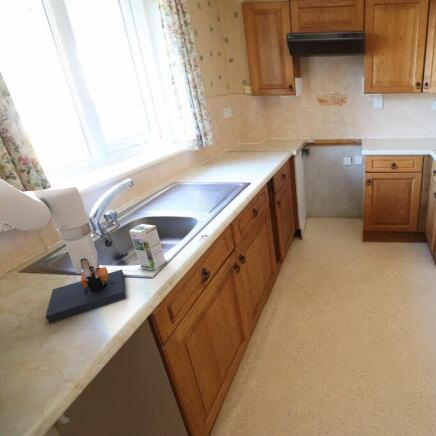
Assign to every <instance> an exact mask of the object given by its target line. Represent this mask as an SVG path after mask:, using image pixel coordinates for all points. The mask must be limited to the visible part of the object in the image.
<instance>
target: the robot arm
mask: <svg viewBox="0 0 436 436" xmlns="http://www.w3.org/2000/svg"><path fill="white" fill-rule="evenodd" d="M50 221H52V223H53V225H54V228H55V230H56V232H57V236H58V237H59V240H60V241H62V242H65V246H66V248H67V249H66V250H67V252H68V255H69V259H70V260H71V264H72V265H73V268H74V271H75V273H76V274H77V275H80V274H82V273H84V275H85V278H86V282H87V284H88V286H89V289H90V291H91V292H94V291H97V290H101V289H103V288H104V286H103V283H102V281H101V278H100V276H98V274H97V271H96V269H99V268H101V267H100V264H99V255H98V251H97V247H96V246H95V243H94V239H93V238H92V236H91V235H92V234H93V233H94V228H93V225H92V223H91V220H90V218H89V214H88V212H87V210H86V207H85V204H84V202H83V198H82V196H81V195H80V191H79V189H78V188H77V186H75V185H72V184H59V185H55V186H54V185H53V186H51V187H47V188H46V189H45V188H44V189H37V190H27V191H26V190H25V191H22V190H20V189H18V188H17V187H15V186H13V185H12V184H10V183H8V182H7V181H5V180H4V179H2V177H0V222H2V223H4V224H7V225H8V226H10V227H13V228H14V229H17V230H20V231H26V232H33V231H38V230H41V229H42V228H44V227H45V226H47V225H48V224H49V222H50ZM91 271H93V272H94V273H91Z"/></svg>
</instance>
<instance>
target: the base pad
mask: <svg viewBox="0 0 436 436" xmlns="http://www.w3.org/2000/svg"><path fill="white" fill-rule="evenodd" d="M123 271H124V270H123V269H122V268H121V269H118V270H115V271H111V272H108V280H106V281H103V282H104V288H103V289H101V290H97V291H94V292H91V291H90V289H89V286H85V287H83V286H82V284H81V280H80V281H77V282H74V283H70V284H66V285H63V286H59V287H56V288H53V289H52V290H51V294H50V298H49V302H48V306H47V308H46V309H47V310H46V313H45V318H46V320H47V322H48V323H49V324H53V323H55V322H59V321H61V320H64V319H67V318H70V317H73V316H76V315H79V314H83V313H86V312H88V311H91V310H95V309H98V308H100V307H104V306H107V305H110V304H113V303H116V302H120V301H122V300H126V299H127V293H126V281H125V274H124V272H123Z"/></svg>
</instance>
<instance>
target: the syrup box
mask: <svg viewBox="0 0 436 436" xmlns="http://www.w3.org/2000/svg"><path fill="white" fill-rule="evenodd" d="M128 232H129V236H130V239H131V241H132V244H133V247H134V251H135V253H136V256H137V260H138V262H139V266H140V269H141V270H149V271H156V270H158V269H159V268H160V267H161V266H163V265H164V264H165V263H166V262H167V261H166V257H165V254H164V251H163V247H162V243H161V240H160V236H159V233H158V230H157V226H156V225H155V224H154V225H153V224H145V223H141V224H139V225H136V226H135V227H132V228H131V229H130V230H129V231H128Z"/></svg>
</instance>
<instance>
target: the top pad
mask: <svg viewBox="0 0 436 436" xmlns="http://www.w3.org/2000/svg"><path fill="white" fill-rule="evenodd" d="M96 271H97V274H98V276H100V278H101V281H102V283H103V286H104V282H103V281H106V280H108V273H109V272H108V269H107V266H103V267H100V268H99V269H96ZM91 273H94V272H93V271H91ZM80 281H81V284H82V286H83V287H85V286H88V284H87V282H86V278H85V275H84V272H81V275H80Z"/></svg>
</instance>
